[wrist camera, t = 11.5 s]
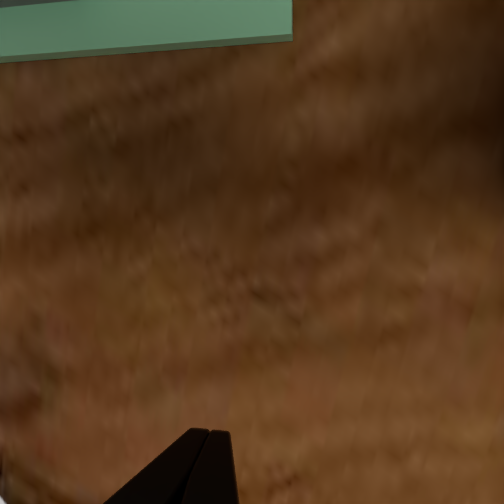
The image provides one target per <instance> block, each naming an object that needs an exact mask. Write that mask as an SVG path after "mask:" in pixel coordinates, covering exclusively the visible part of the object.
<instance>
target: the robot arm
mask: <svg viewBox="0 0 504 504" xmlns="http://www.w3.org/2000/svg"><path fill="white" fill-rule="evenodd" d="M103 504H239V497H238V489H237V481H236V474H235V466H234V458H233V450H232V443H231V435H230V432H228V431H222V430H212V431H209V430H208V429H203V428H190V429H189V430H187V431H186V432H185V433H184V434H183V435H182V436H180V437H179V438H178V439H177V440H176V441H175V442H174V443H172V444H171V445H170V446H169V447H168V448H167V449H165V450H164V451H163V452H162V453H161V454H160V455H159V456H157V457H156V458H155V459H154V460H153V461H152V462H150V463H149V464H148V465H147V466H146V467H145V468H144V469H142V470H141V471H140V472H139V473H138V474H137V475H135V476H134V477H133V478H132V479H131V480H130V481H129V482H127V483H126V484H125V485H124V486H123V487H122V488H120V489H119V490H118V491H117V492H116V493H115V494H114V495H112V496H111V497H110V498H109V499H108V500H107V501H105V502H104V503H103Z"/></svg>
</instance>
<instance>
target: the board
mask: <svg viewBox="0 0 504 504" xmlns="http://www.w3.org/2000/svg"><path fill="white" fill-rule="evenodd" d="M286 41H293V0H0V63H8V62H21V61H34V60H47V59H61V58H74V57H87V56H100V55H114V54H127V53H140V52H154V51H167V50H180V49H193V48H207V47H220V46H233V45H246V44H260V43H273V42H286Z"/></svg>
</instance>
